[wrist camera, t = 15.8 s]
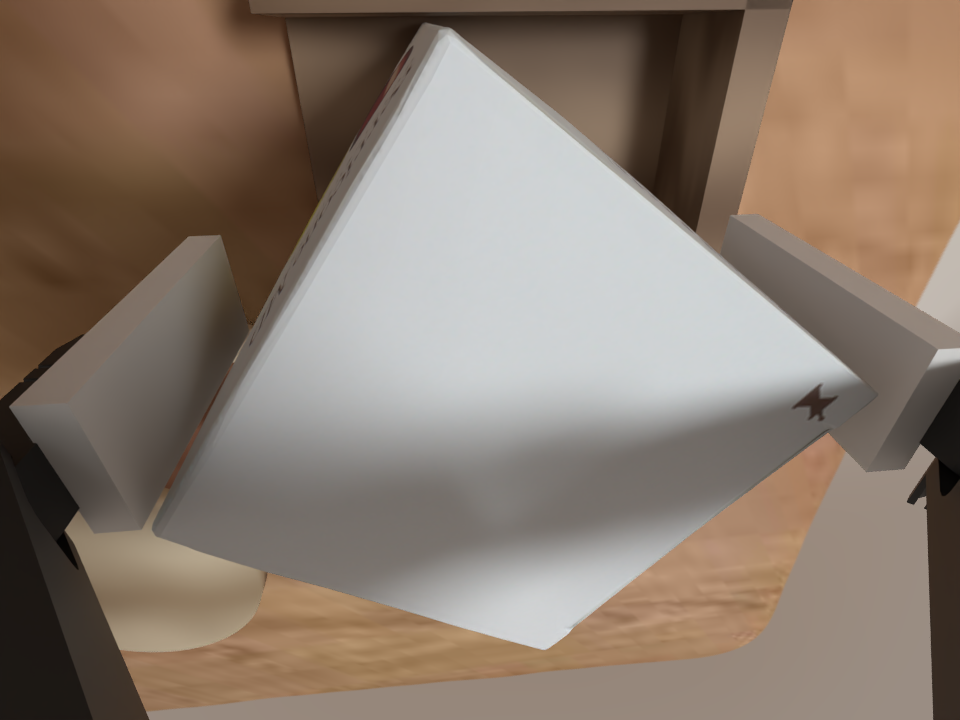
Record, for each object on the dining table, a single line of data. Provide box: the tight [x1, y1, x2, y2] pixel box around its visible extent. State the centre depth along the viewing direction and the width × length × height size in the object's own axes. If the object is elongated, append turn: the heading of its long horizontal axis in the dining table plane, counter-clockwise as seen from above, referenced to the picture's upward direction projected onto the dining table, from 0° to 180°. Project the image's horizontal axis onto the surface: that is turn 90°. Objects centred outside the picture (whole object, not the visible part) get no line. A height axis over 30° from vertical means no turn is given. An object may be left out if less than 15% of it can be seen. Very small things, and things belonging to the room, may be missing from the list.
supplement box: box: [152, 22, 878, 650], centre depth 15 cm, size 10×9×17 cm
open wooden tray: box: [249, 0, 793, 254], centre depth 21 cm, size 16×16×5 cm
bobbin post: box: [65, 324, 268, 652], centre depth 23 cm, size 8×8×12 cm
